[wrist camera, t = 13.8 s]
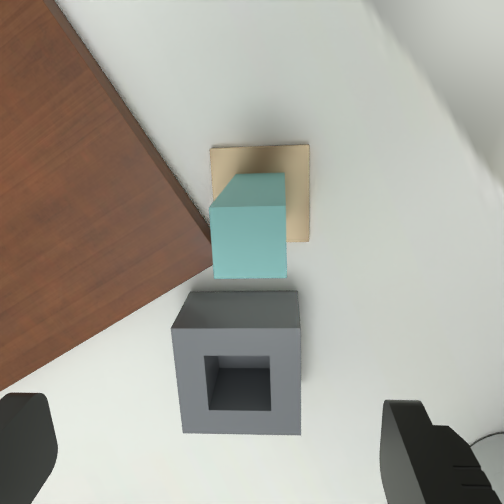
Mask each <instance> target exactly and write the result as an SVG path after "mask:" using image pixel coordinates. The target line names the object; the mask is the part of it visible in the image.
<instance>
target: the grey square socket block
mask: <svg viewBox="0 0 504 504" xmlns="http://www.w3.org/2000/svg"><path fill="white" fill-rule="evenodd" d="M171 335H172V343H173V352H174V361H175V369H176V378H177V386H178V395H179V404H180V412H181V421H182V430H183V433H202V434H256V435H301V336H300V317H299V305H298V293H297V291H233V292H190V293H189V295H188V297H187V299H186V301H185V302H184V304H183V306H182V308H181V310H180V312H179V314H178V316H177V318H176V320H175V322H174V323H173V325H172V327H171Z"/></svg>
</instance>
